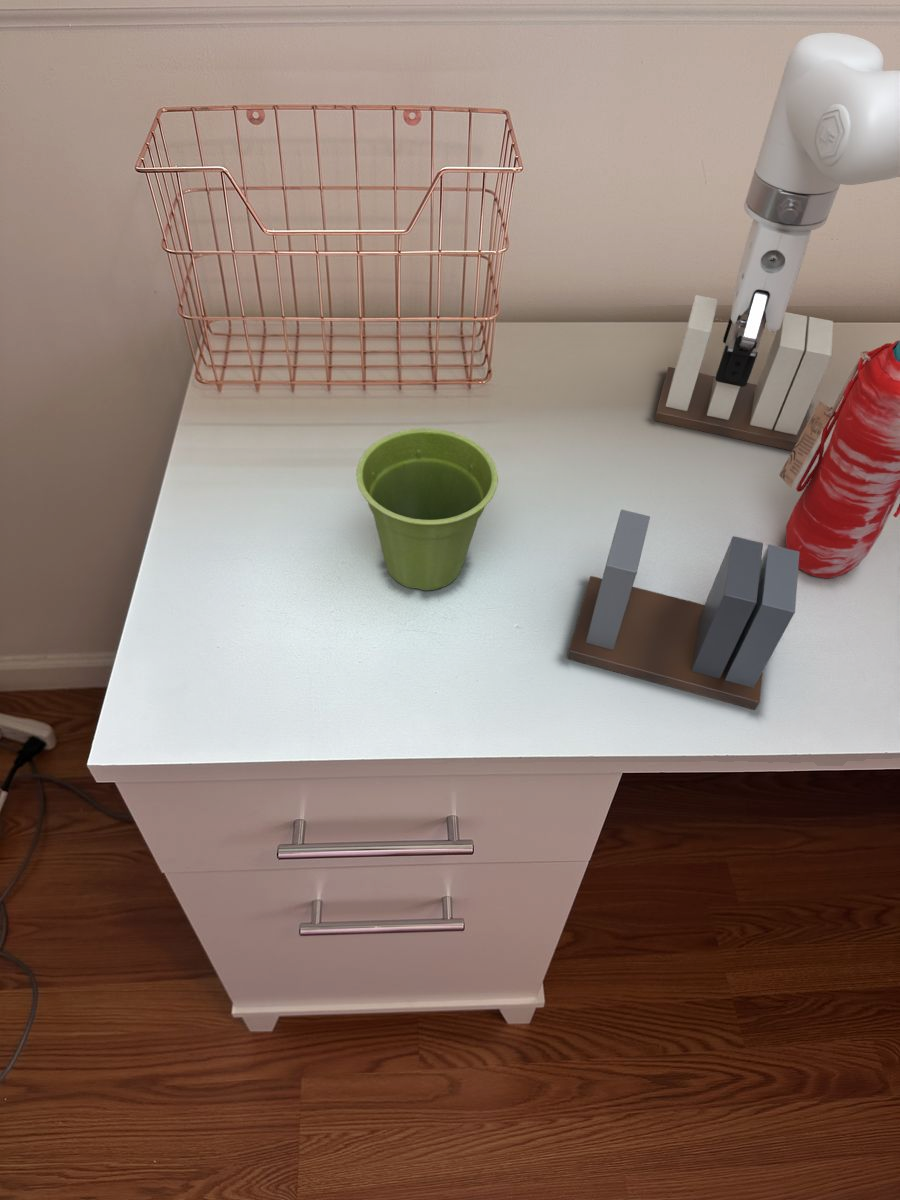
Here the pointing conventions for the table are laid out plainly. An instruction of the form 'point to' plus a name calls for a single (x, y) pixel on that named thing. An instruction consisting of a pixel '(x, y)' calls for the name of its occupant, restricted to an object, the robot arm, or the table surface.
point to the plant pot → (426, 501)
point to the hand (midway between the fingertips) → (734, 362)
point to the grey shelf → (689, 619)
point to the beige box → (724, 388)
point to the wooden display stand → (758, 409)
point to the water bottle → (848, 469)
